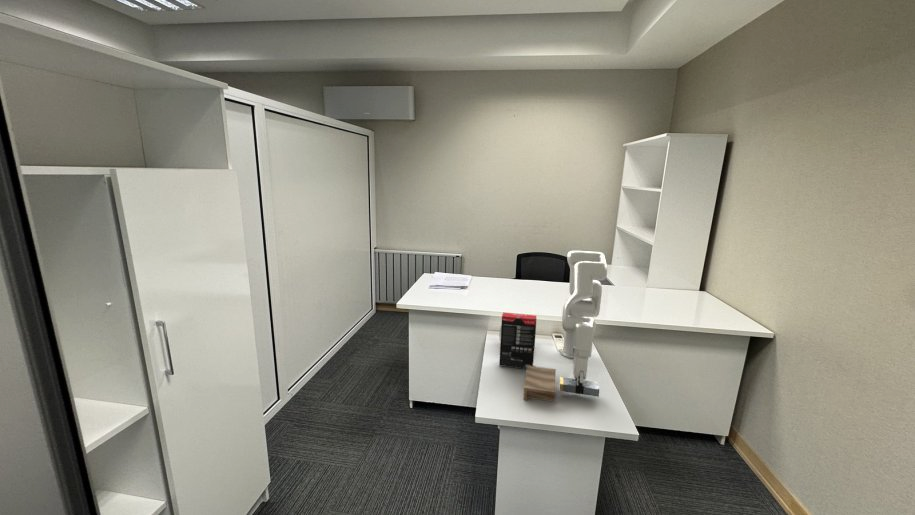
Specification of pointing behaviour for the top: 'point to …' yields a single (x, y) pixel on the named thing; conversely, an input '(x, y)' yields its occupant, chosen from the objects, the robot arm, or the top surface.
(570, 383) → the slab
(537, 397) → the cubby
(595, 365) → the top surface
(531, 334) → the graphics card box
